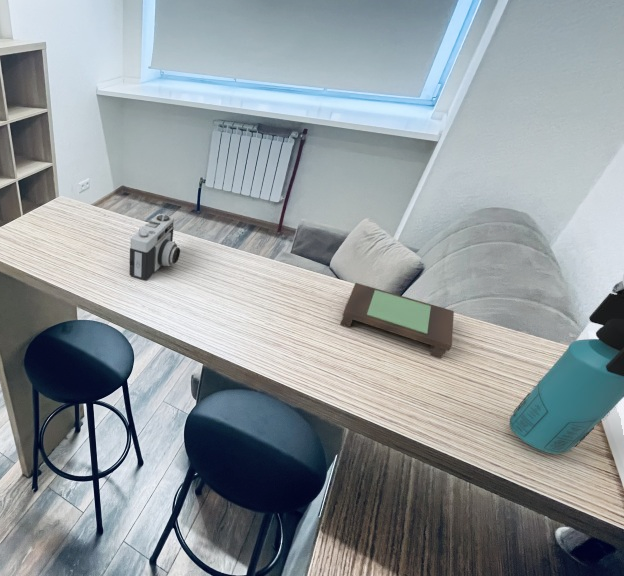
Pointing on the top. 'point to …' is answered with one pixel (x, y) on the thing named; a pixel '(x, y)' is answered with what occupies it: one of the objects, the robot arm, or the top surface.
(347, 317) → the shelf
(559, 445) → the beverage bottle
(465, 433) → the top surface
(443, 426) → the top surface
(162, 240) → the camera
